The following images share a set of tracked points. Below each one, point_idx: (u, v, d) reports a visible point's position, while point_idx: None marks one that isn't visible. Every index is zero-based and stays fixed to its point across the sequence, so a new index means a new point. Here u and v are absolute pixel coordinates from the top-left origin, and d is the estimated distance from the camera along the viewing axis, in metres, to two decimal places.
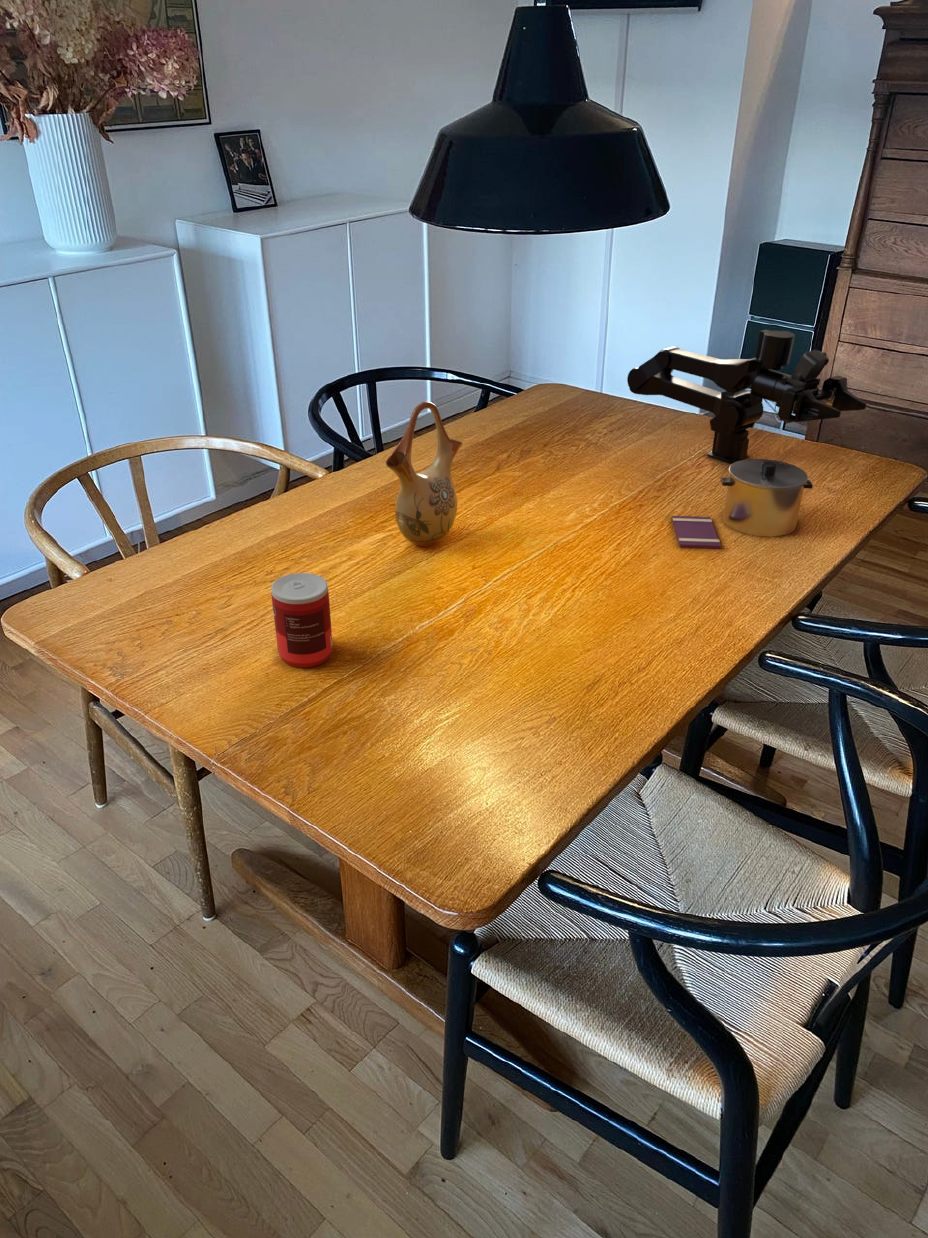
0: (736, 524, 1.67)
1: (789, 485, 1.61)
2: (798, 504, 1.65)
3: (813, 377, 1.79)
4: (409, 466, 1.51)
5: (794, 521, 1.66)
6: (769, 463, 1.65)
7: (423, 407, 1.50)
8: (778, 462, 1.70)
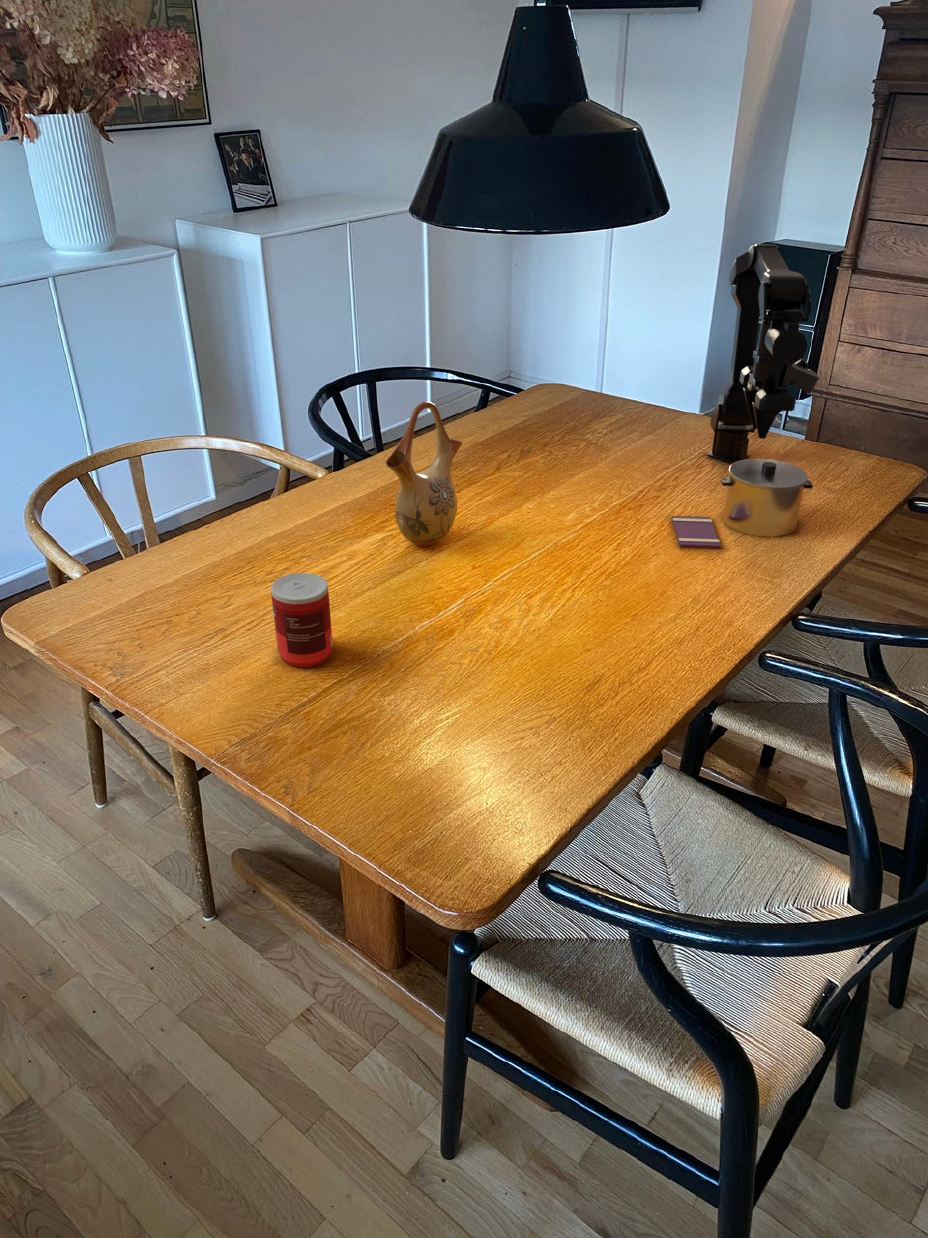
0: (736, 524, 1.67)
1: (789, 485, 1.61)
2: (798, 504, 1.65)
3: None
4: (409, 466, 1.51)
5: (794, 521, 1.66)
6: (769, 463, 1.65)
7: (423, 407, 1.50)
8: (778, 462, 1.70)
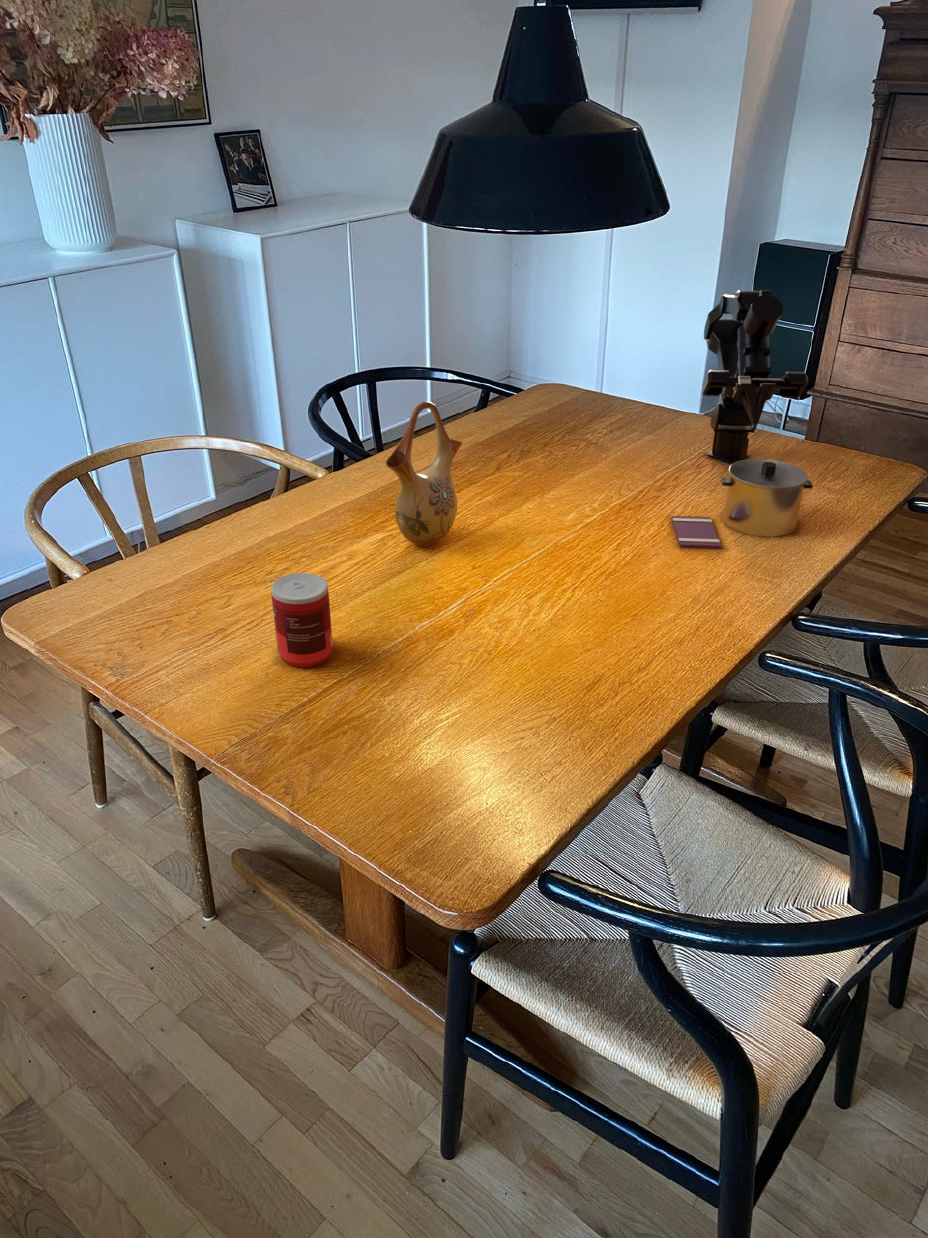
0: (736, 524, 1.67)
1: (789, 485, 1.61)
2: (798, 504, 1.65)
3: None
4: (409, 466, 1.51)
5: (794, 521, 1.66)
6: (769, 463, 1.65)
7: (423, 407, 1.50)
8: (778, 462, 1.70)
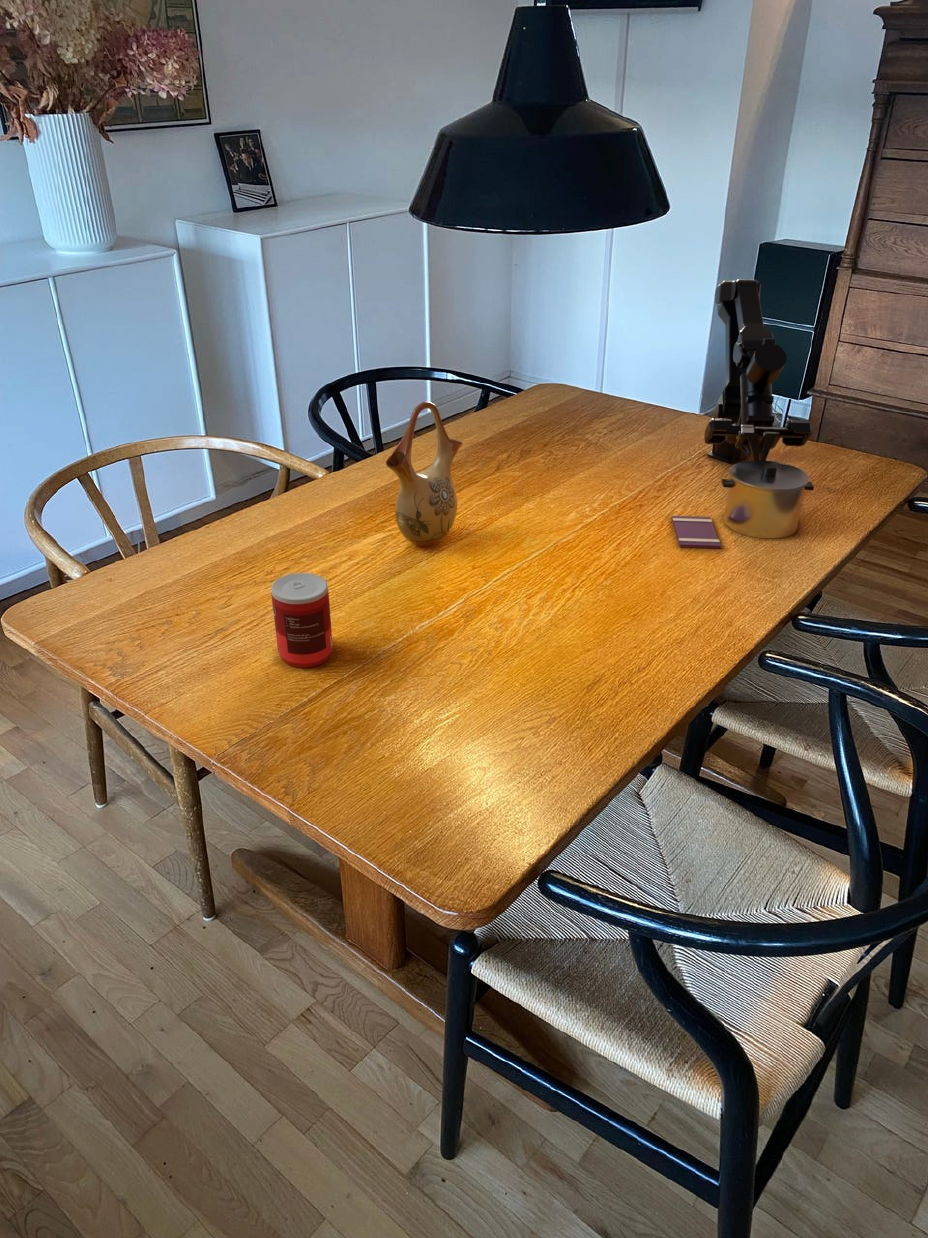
0: (737, 526, 1.66)
1: (790, 487, 1.60)
2: (799, 506, 1.64)
3: None
4: (409, 466, 1.51)
5: (795, 523, 1.65)
6: (770, 465, 1.65)
7: (423, 407, 1.50)
8: (779, 463, 1.69)
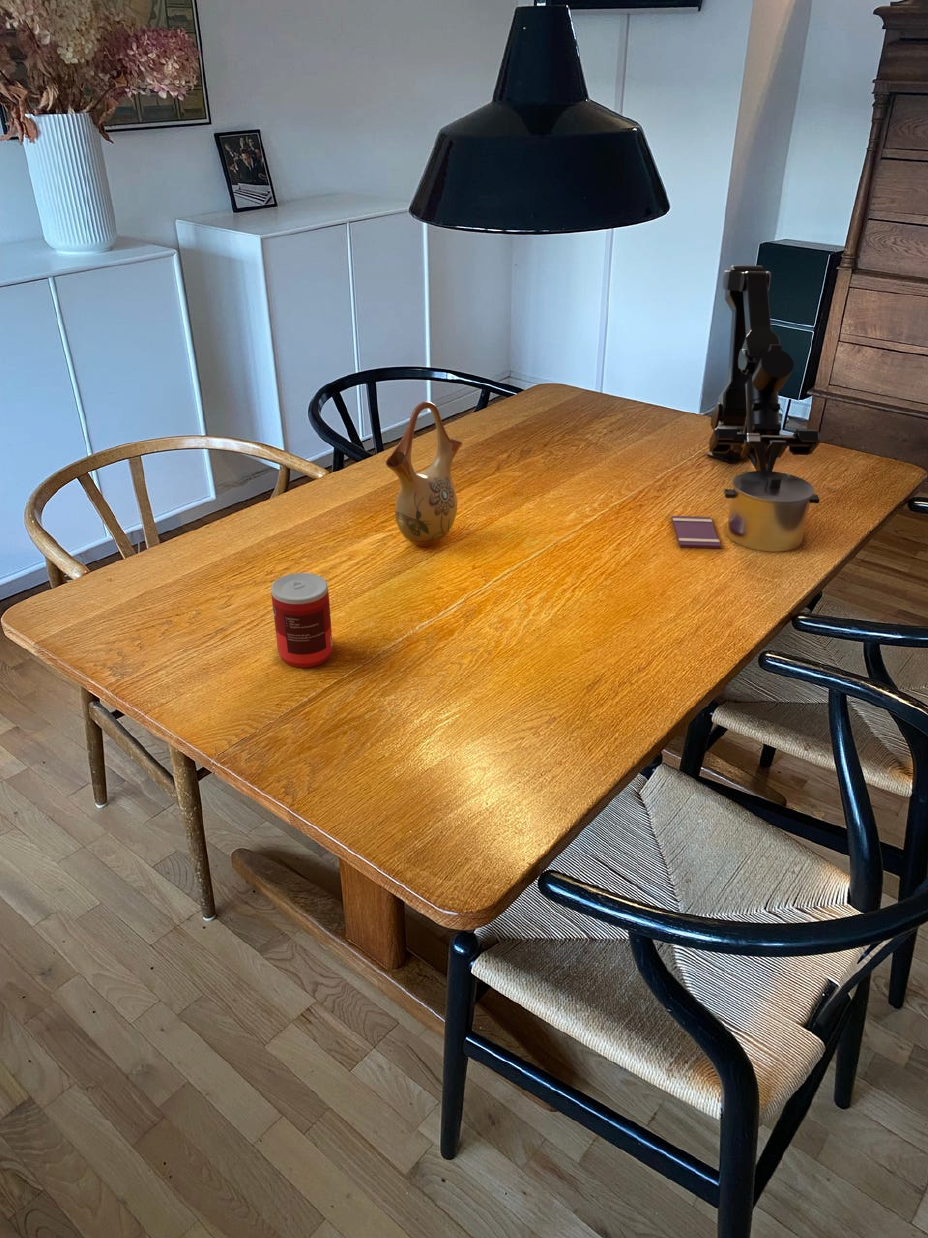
0: (738, 538, 1.62)
1: (792, 499, 1.55)
2: (803, 519, 1.59)
3: None
4: (409, 466, 1.51)
5: (799, 536, 1.61)
6: (774, 476, 1.60)
7: (423, 407, 1.50)
8: (786, 475, 1.65)
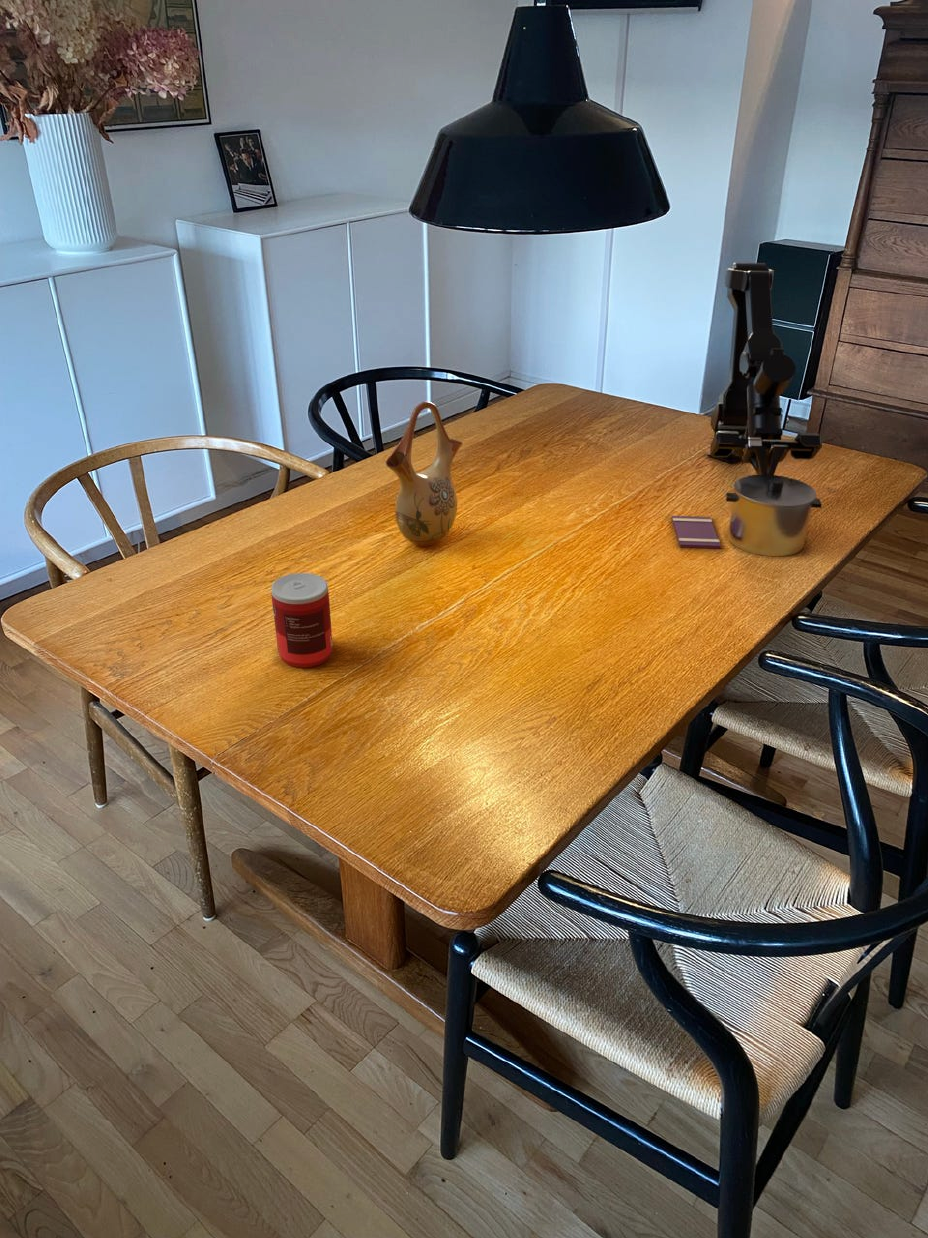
0: (739, 542, 1.61)
1: (794, 503, 1.54)
2: (804, 523, 1.58)
3: None
4: (409, 466, 1.51)
5: (800, 541, 1.59)
6: (776, 480, 1.59)
7: (423, 407, 1.50)
8: (788, 479, 1.63)
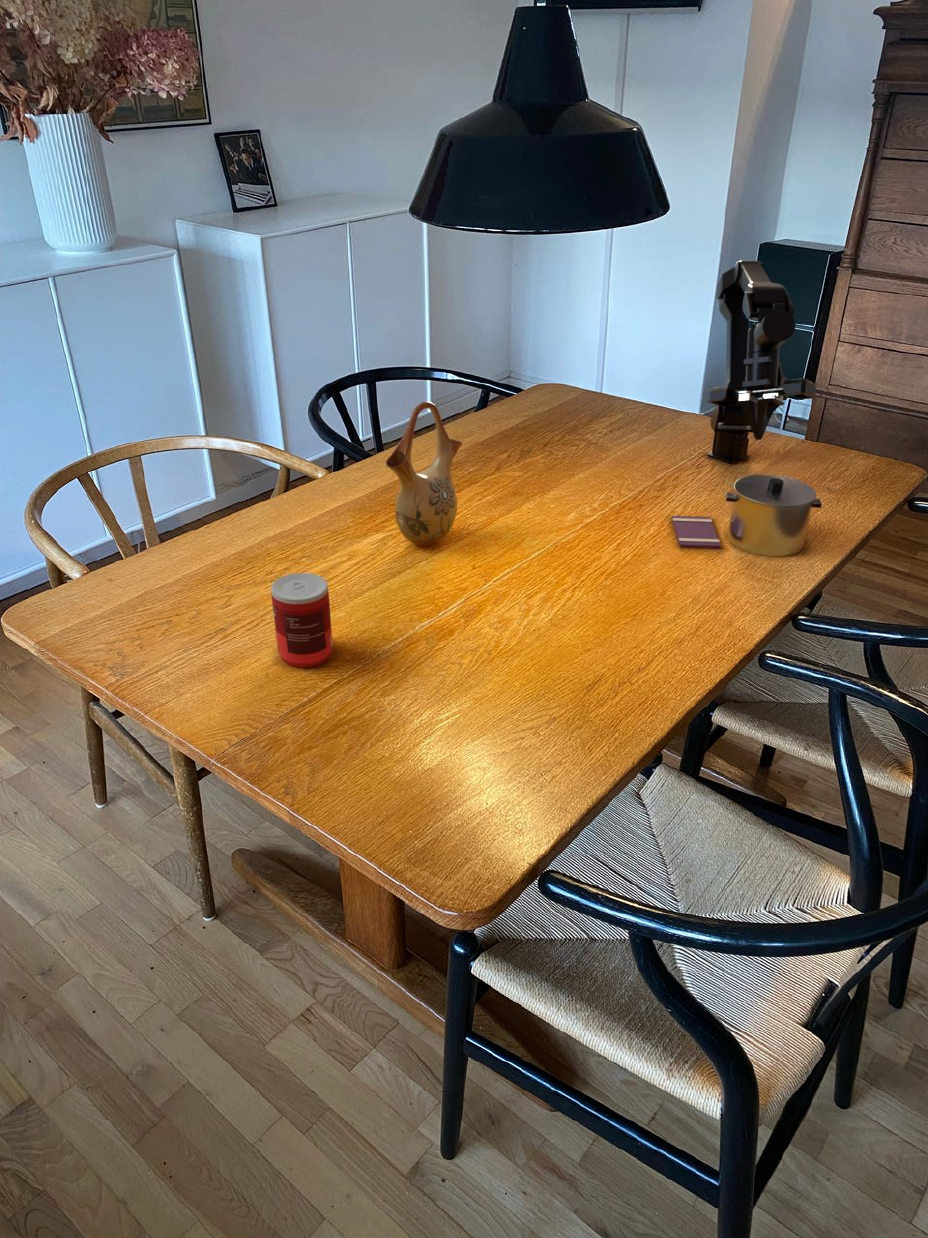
0: (739, 542, 1.61)
1: (794, 503, 1.54)
2: (804, 524, 1.58)
3: None
4: (409, 466, 1.51)
5: (800, 541, 1.59)
6: (776, 480, 1.59)
7: (423, 407, 1.50)
8: (788, 479, 1.63)
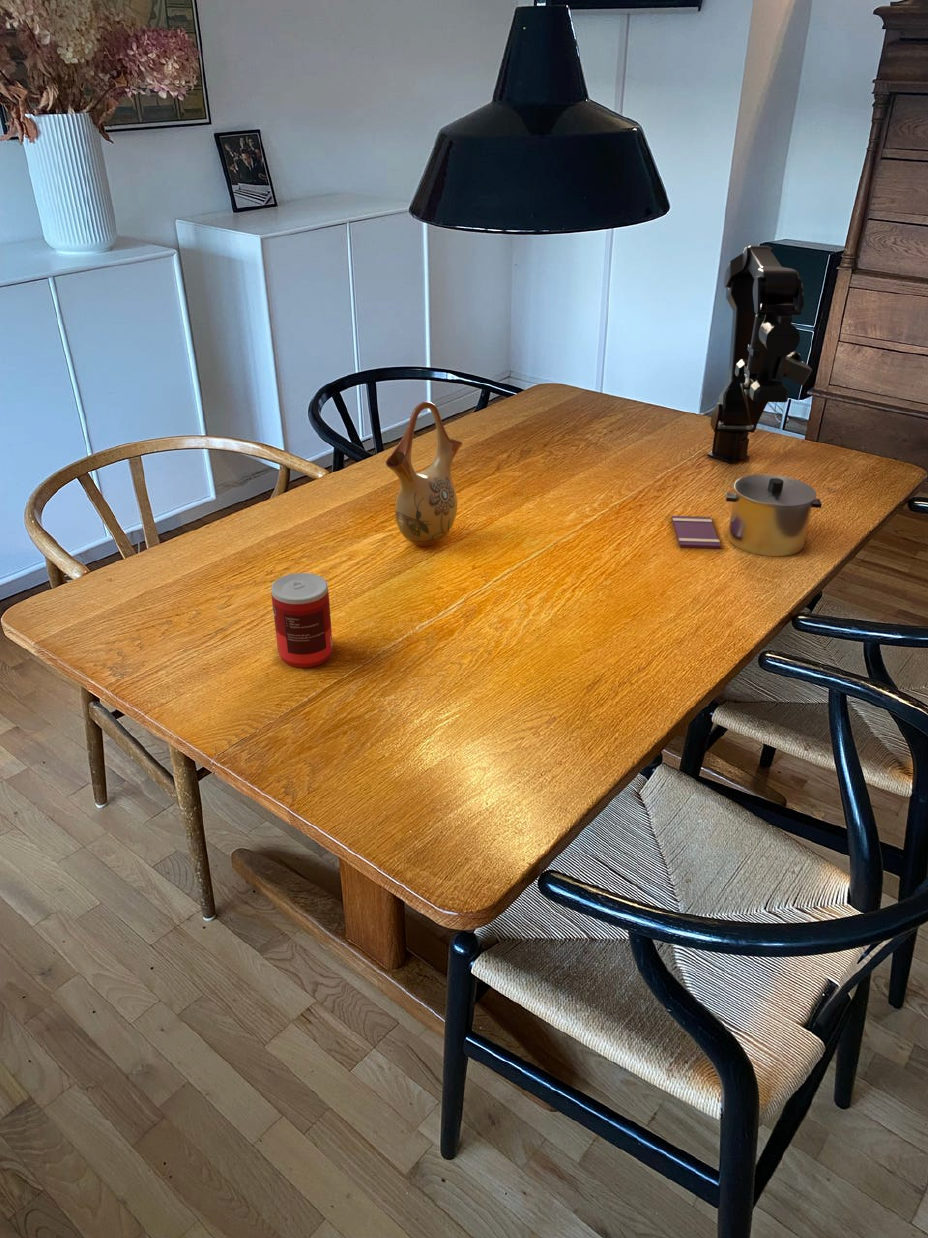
0: (739, 542, 1.61)
1: (794, 503, 1.54)
2: (804, 524, 1.58)
3: None
4: (409, 466, 1.51)
5: (800, 541, 1.59)
6: (776, 480, 1.59)
7: (423, 407, 1.50)
8: (788, 479, 1.63)
